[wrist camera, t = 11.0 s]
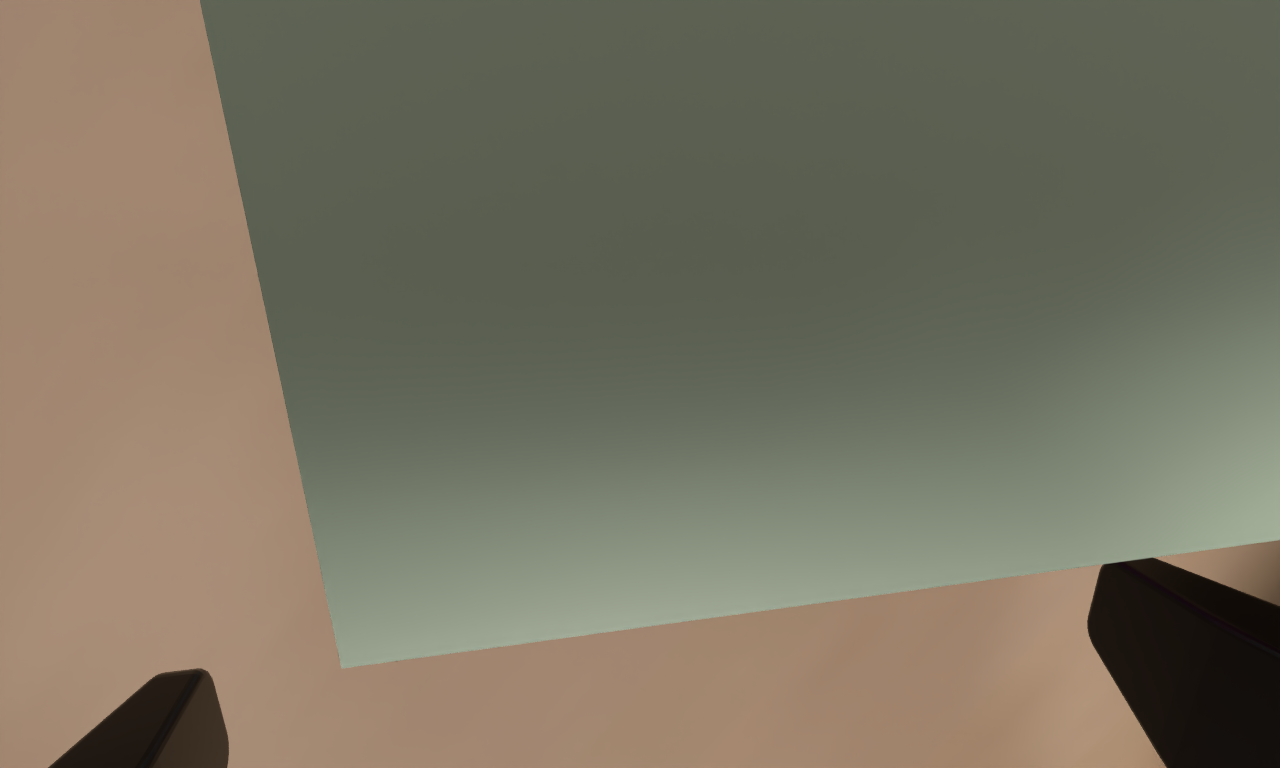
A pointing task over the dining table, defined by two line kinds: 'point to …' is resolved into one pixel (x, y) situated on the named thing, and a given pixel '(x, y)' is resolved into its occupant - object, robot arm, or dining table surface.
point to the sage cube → (755, 297)
